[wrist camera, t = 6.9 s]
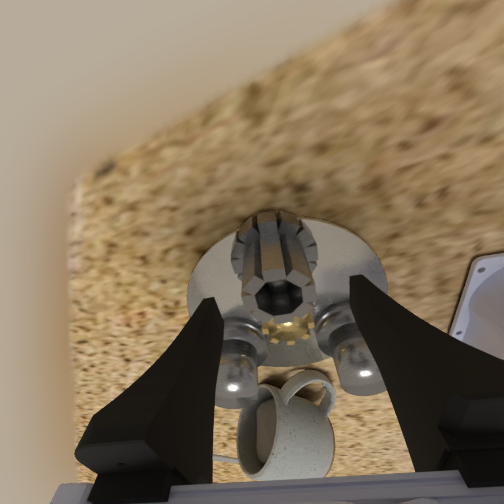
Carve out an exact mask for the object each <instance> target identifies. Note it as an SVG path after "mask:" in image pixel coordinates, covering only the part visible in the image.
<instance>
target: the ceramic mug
mask: <svg viewBox="0 0 504 504" xmlns="http://www.w3.org/2000/svg"><path fill="white" fill-rule="evenodd" d="M318 381H321V382H322V385H323V386H325V387H326V393H325V396H324V398H323V400H322V401H321V403H320V405H319V406H317V405H316V404H314V403H313V402H311V401H309V400H307V399H304V398H301V397H298V396H296V395H294V394H295V393H296V392H297V391H298V390H300V389H301V388H302V387H304V386H306V385H307V384H309V383H313V382H318ZM335 401H336V392H335V389H334V386H333V385H332V383H331V382H330V381H329V379H328V378H327V377H326V376H325V375H324V374H323V373H321V372H319V371H316V370H304V371H301V372H299V373H297V374H295V375H294V376H292V377H291V378H290V379H289V380H288V381H287V382H286V383H285V384H284V385H283V387H282V388H281V389H279V388H277V387H274V386H271V385H268V384H260V385H258V399H257V401H256V402H255V403H254V404H252V405H250V406H248V407H245V408H242V409H241V412H240V416H239V421H238V427H237V438H236V442H237V455H238V461H239V464H240V466H241V469H242V471H243V473H244V474H245V475H246V476H247V477H248V478H250V479H253V480H265V481H270V480H288V479H306V478H324V477H325V476H326V475H327V474H328V473H329V471H330V469H331V467H332V464H333V461H334V454H335V437H334V431H333V427H332V424H331V422H330V420H329V418H328V415H329V414H330V413H331V411H332V409H333V407H334V405H335Z"/></svg>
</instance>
